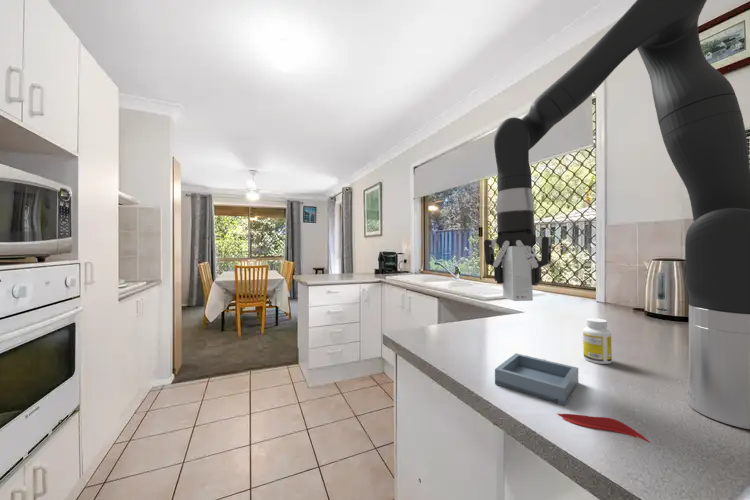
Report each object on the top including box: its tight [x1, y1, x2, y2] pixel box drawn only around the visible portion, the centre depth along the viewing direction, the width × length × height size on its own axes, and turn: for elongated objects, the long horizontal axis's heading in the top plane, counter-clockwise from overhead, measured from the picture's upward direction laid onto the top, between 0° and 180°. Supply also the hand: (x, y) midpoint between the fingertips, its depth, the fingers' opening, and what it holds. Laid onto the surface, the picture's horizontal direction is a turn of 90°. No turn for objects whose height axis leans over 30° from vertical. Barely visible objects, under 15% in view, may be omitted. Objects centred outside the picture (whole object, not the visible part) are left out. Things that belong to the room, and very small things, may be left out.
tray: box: [494, 353, 579, 407], centre depth 59 cm, size 12×12×3 cm
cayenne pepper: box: [557, 413, 651, 444], centre depth 45 cm, size 12×5×2 cm, turn 41°
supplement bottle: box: [582, 317, 613, 365], centre depth 71 cm, size 5×5×10 cm
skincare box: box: [502, 246, 534, 302], centre depth 66 cm, size 6×4×12 cm
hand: (516, 284), depth 66 cm, fingers closed on skincare box, 7 cm apart
